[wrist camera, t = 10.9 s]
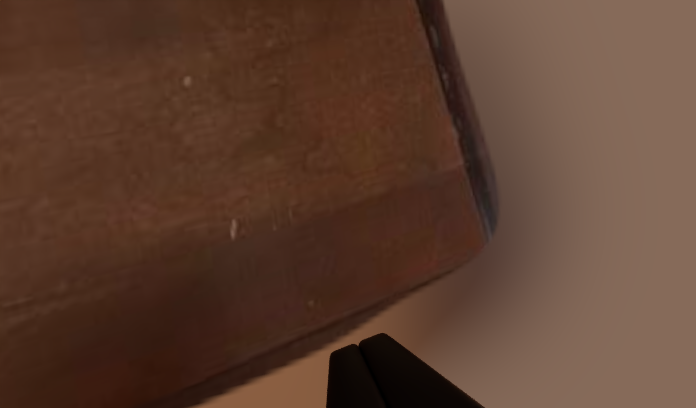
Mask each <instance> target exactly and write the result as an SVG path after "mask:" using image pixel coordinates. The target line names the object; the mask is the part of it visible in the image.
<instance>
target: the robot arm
mask: <svg viewBox="0 0 696 408" xmlns="http://www.w3.org/2000/svg"><path fill="white" fill-rule="evenodd" d="M326 408H485V407H483V406H482V405H481V404H479V403H478V402H477V401H475V400H474V399H473V398H471V397H470V396H469V395H467V394H466V393H465V392H463V391H462V390H461V389H459V388H458V387H457V386H455V385H454V384H452V383H451V382H450V381H449V380H447V379H446V378H444V377H443V376H442V375H441V374H439V373H438V372H437V371H435V370H434V369H433V368H431V367H430V366H429V365H427V364H426V363H425V362H423V361H422V360H421V359H419V358H418V357H417V356H415V355H414V354H413V353H411V352H410V351H409V350H407V349H406V348H405V347H403V346H402V345H401V344H399V343H398V342H397V341H395V340H394V339H393V338H391V337H390V336H388V335H387V334H385V333H380V334H377V335H374V336H372V337H370V338H367V339H364V340H362V341H361V342H360V343H359V347H358V346H357V345H356V344H351V345H348V346H346V347H343V348H341V349H338V350H336V351H334V352H332V353H331V355H330V360H329V374H328V388H327V404H326Z"/></svg>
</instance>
